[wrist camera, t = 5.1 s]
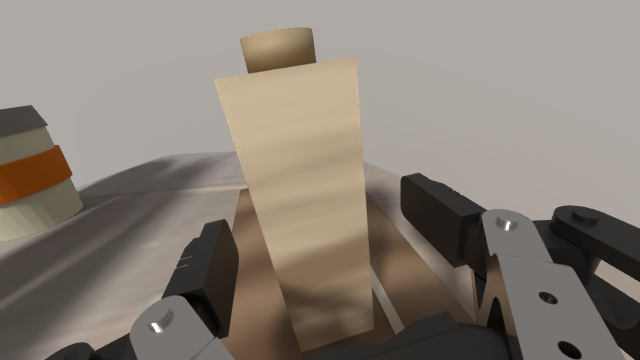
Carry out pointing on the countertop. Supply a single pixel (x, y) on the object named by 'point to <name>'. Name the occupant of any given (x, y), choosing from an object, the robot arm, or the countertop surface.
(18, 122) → the reusable coffee cup
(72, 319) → the countertop surface
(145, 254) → the countertop surface
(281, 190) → the wooden pepper mill
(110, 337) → the countertop surface
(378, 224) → the walnut board
